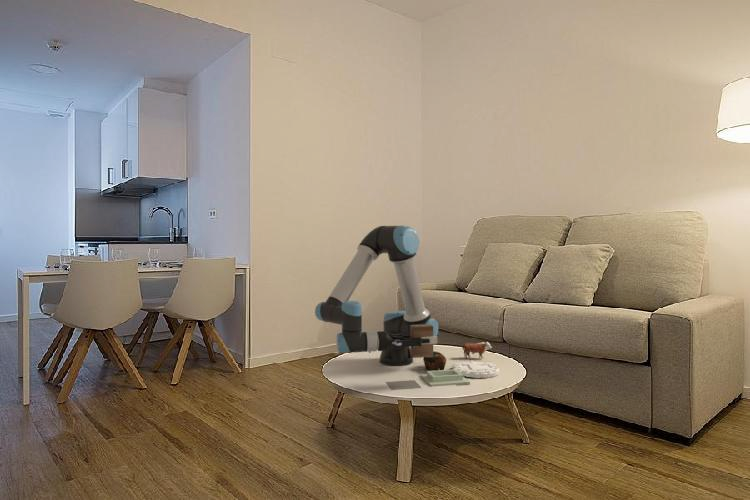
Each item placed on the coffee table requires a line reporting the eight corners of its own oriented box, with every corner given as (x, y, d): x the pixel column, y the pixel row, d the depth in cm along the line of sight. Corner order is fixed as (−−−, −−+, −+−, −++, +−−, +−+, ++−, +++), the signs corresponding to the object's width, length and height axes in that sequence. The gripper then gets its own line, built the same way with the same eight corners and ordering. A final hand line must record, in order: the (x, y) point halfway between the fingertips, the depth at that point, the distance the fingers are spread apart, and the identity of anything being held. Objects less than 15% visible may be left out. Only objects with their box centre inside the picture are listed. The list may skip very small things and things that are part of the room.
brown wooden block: (410, 355, 205) (410, 325, 205) (429, 353, 207) (429, 324, 206) (413, 357, 201) (413, 327, 200) (433, 356, 202) (433, 326, 202)
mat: (385, 382, 206) (385, 382, 206) (414, 380, 209) (414, 380, 209) (391, 390, 197) (391, 389, 196) (421, 388, 199) (421, 387, 199)
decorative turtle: (434, 375, 216) (432, 356, 216) (417, 368, 230) (416, 350, 230) (454, 371, 220) (452, 353, 220) (436, 365, 234) (435, 347, 234)
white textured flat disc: (501, 369, 228) (501, 362, 228) (497, 381, 209) (497, 374, 209) (455, 365, 234) (455, 358, 234) (448, 376, 215) (448, 369, 215)
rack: (420, 376, 214) (420, 369, 214) (457, 374, 218) (457, 367, 217) (431, 387, 201) (431, 379, 201) (470, 384, 204) (470, 376, 204)
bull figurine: (491, 360, 240) (492, 343, 239) (462, 359, 242) (462, 342, 241) (491, 358, 244) (491, 340, 244) (462, 356, 246) (462, 339, 246)
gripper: (372, 345, 209) (428, 342, 213) (381, 356, 192) (442, 353, 196) (372, 327, 209) (428, 324, 213) (381, 336, 191) (442, 333, 196)
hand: (434, 338), depth 204 cm, fingers closed on brown wooden block, 4 cm apart
